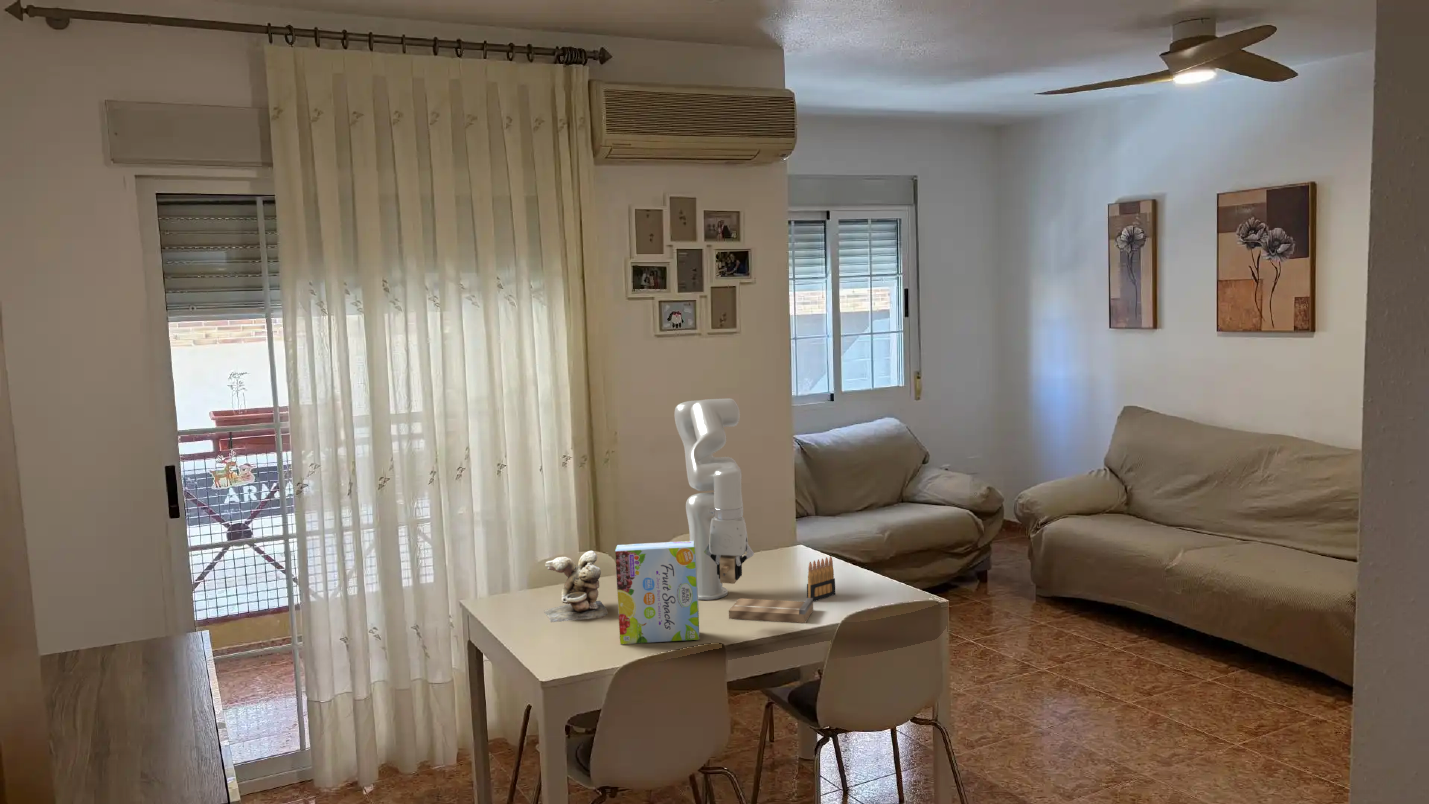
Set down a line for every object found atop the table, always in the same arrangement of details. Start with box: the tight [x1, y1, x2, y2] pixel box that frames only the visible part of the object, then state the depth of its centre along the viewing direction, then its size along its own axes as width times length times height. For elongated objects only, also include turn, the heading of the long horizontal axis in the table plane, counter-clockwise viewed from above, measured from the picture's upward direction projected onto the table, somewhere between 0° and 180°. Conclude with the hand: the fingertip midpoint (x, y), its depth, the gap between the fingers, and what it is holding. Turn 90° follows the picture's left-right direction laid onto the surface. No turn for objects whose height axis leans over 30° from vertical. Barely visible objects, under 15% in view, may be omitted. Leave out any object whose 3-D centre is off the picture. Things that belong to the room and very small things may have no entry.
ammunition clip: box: [806, 556, 837, 602], centre depth 321 cm, size 11×2×12 cm, turn 131°
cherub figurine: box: [543, 550, 608, 623], centre depth 315 cm, size 18×18×18 cm
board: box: [728, 597, 814, 624], centre depth 307 cm, size 22×12×4 cm, turn 74°
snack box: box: [614, 540, 700, 645], centre depth 288 cm, size 22×9×26 cm, turn 93°
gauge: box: [720, 555, 738, 585], centre depth 295 cm, size 4×11×7 cm, turn 164°
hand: (729, 577), depth 295 cm, fingers closed on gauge, 4 cm apart
